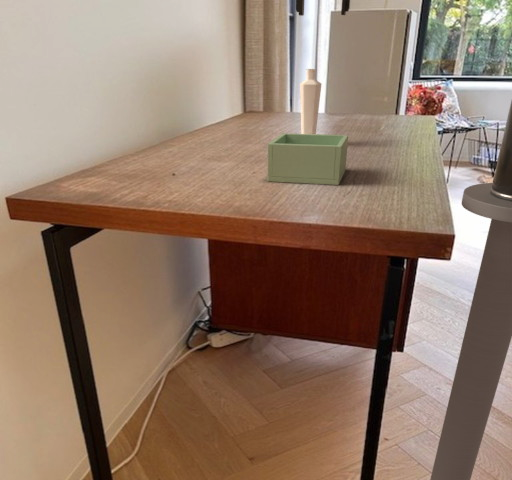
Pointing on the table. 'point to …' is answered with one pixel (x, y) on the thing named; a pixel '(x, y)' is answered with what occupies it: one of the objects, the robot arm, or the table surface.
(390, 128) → the table surface
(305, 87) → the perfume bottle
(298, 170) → the bin
